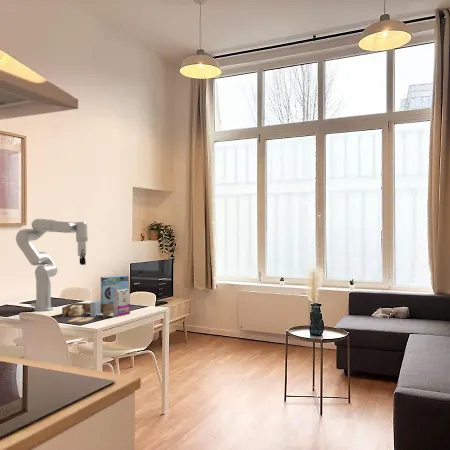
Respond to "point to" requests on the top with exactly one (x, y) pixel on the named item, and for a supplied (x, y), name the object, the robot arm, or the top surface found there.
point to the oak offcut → (75, 313)
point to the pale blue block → (95, 308)
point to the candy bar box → (121, 302)
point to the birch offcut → (76, 308)
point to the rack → (105, 308)
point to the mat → (81, 319)
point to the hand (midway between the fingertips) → (82, 264)
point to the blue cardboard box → (112, 287)
